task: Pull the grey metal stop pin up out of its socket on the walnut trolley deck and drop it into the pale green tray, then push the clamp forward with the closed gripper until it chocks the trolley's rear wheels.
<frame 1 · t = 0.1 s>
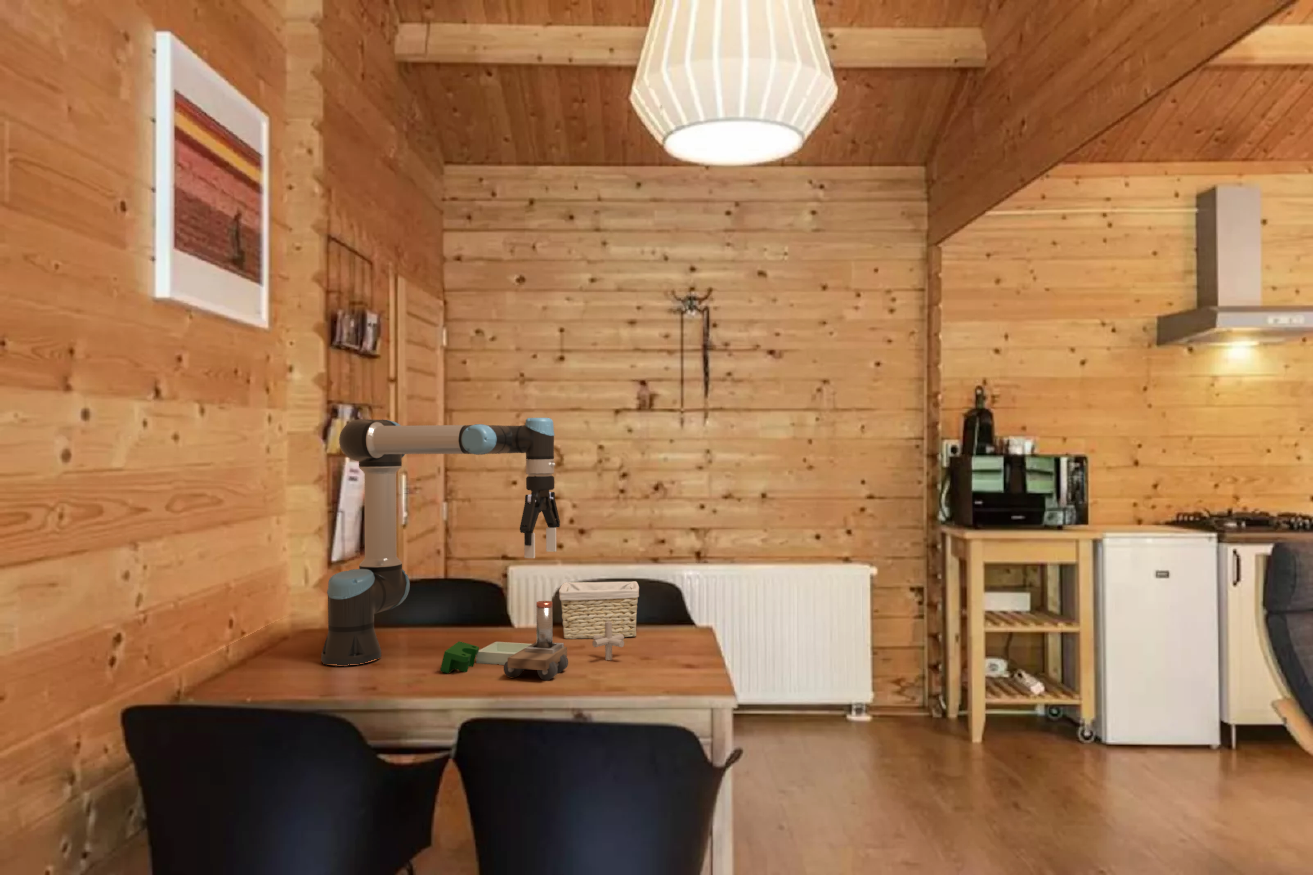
hand: (540, 554, 230), 28 cm above the table, tool pointing down, fingers open, 13 cm apart
pipe connector: (608, 660, 229), on the table
storage basket: (599, 634, 261), on the table
tray: (506, 659, 231), on the table
clamp: (460, 670, 221), on the table
trolley: (538, 674, 215), on the table
pin: (544, 649, 218), point 5 cm above the table, touching trolley
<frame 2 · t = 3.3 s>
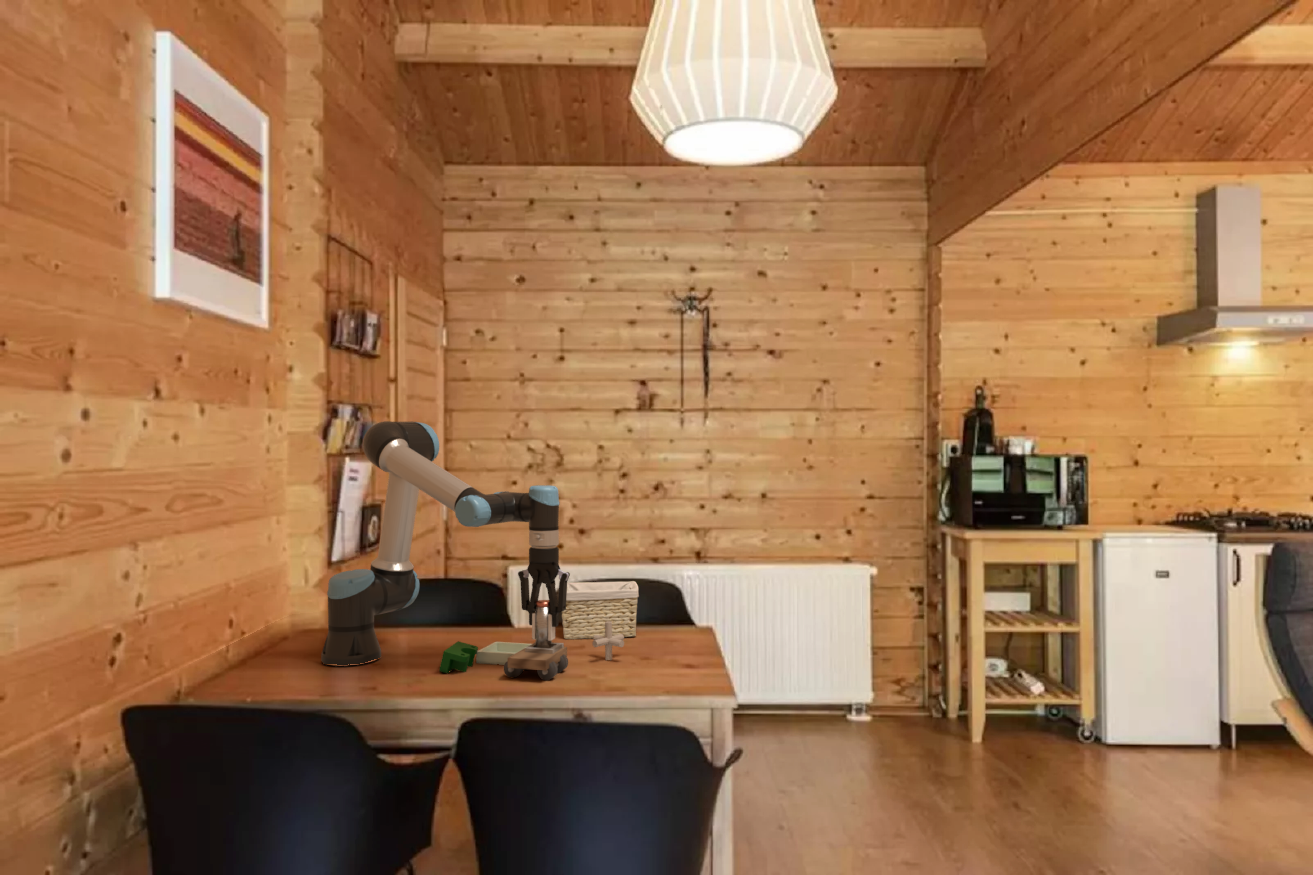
hand: (543, 638, 218), 8 cm above the table, tool pointing down, fingers closed on pin, 4 cm apart
pin: (543, 648, 218), point 6 cm above the table, touching gripper
everything else where it was.
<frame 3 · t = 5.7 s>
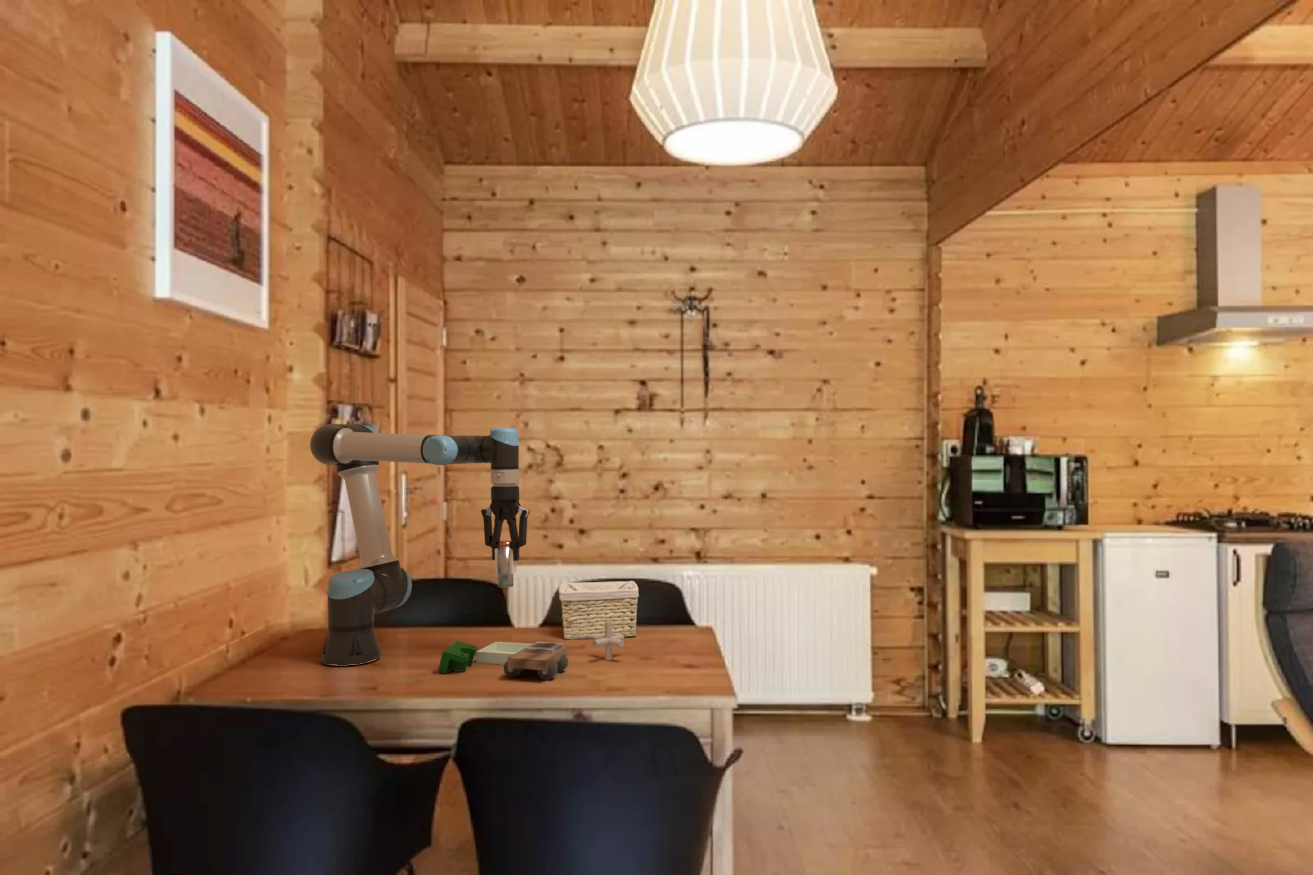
hand: (505, 572, 231), 23 cm above the table, tool pointing down, fingers closed on pin, 3 cm apart
pin: (505, 586, 231), point 19 cm above the table, touching gripper
everything else where it was.
when the fingers open (4 cm above the table, at t = 8.8 s): pin stays where it is, resting on tray.
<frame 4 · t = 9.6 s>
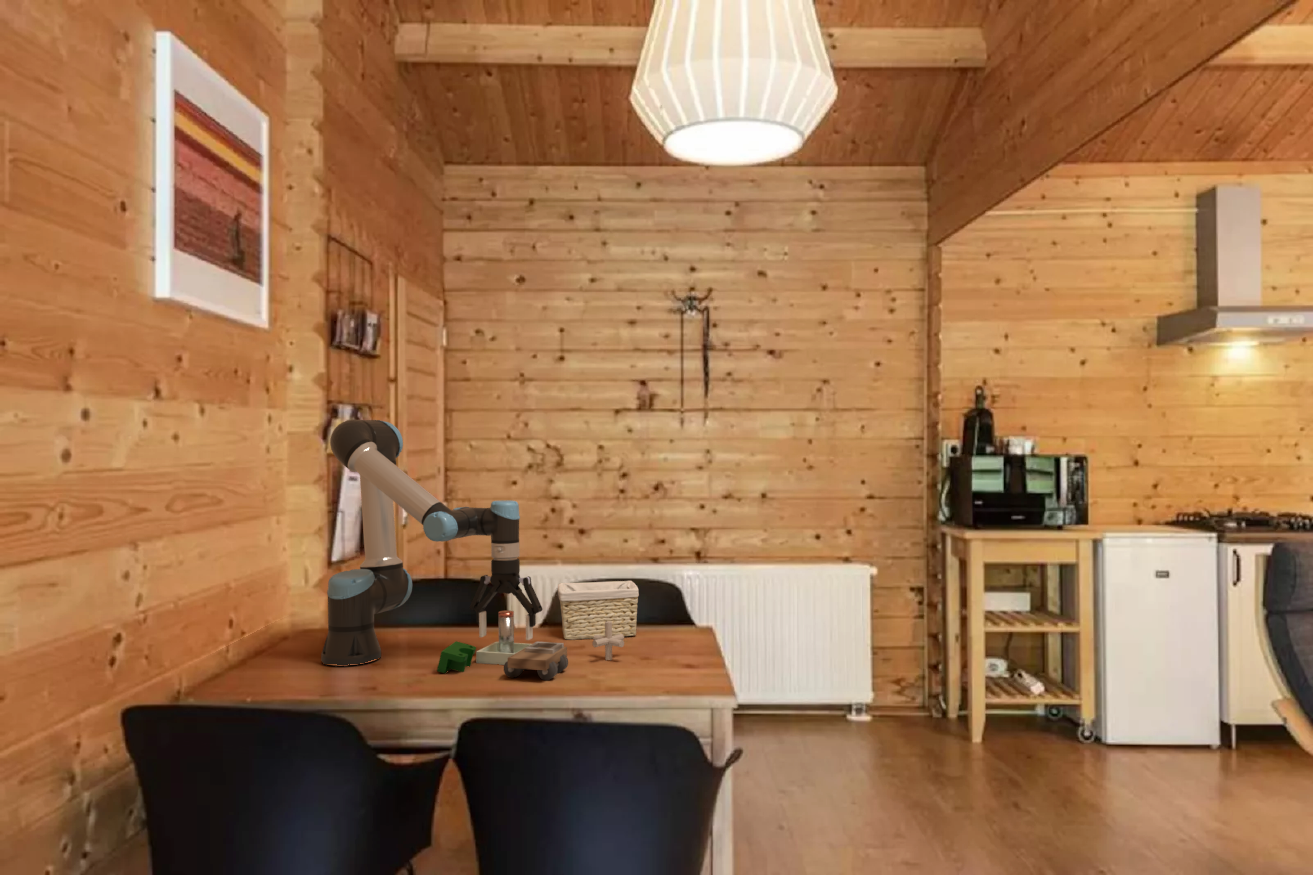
hand: (505, 637, 231), 6 cm above the table, tool pointing down, fingers open, 13 cm apart
pin: (506, 656, 231), point 1 cm above the table, touching tray
everything else where it was.
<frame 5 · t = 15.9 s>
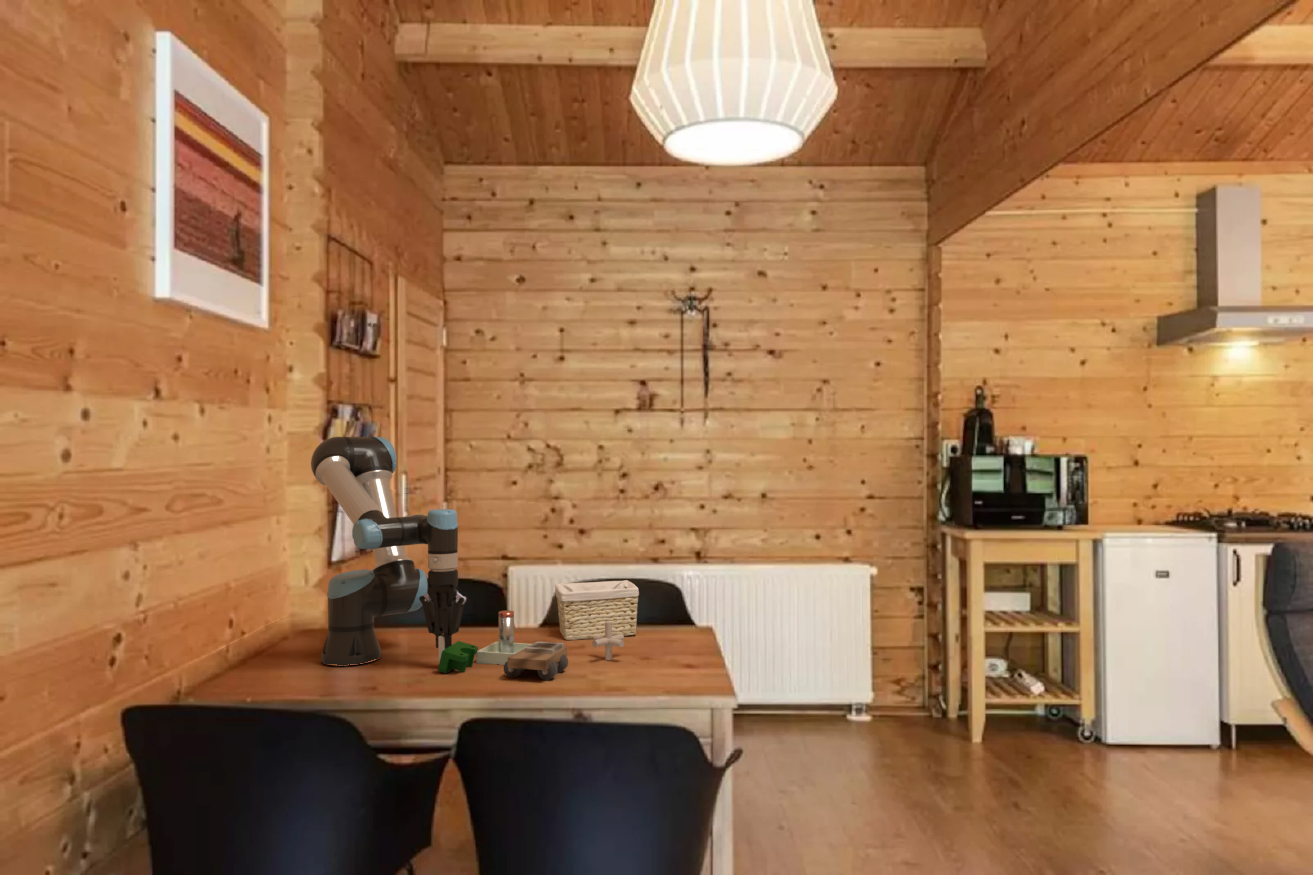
hand: (443, 660, 222), 2 cm above the table, tool pointing down, fingers closed
clamp: (458, 669, 221), on the table, touching gripper
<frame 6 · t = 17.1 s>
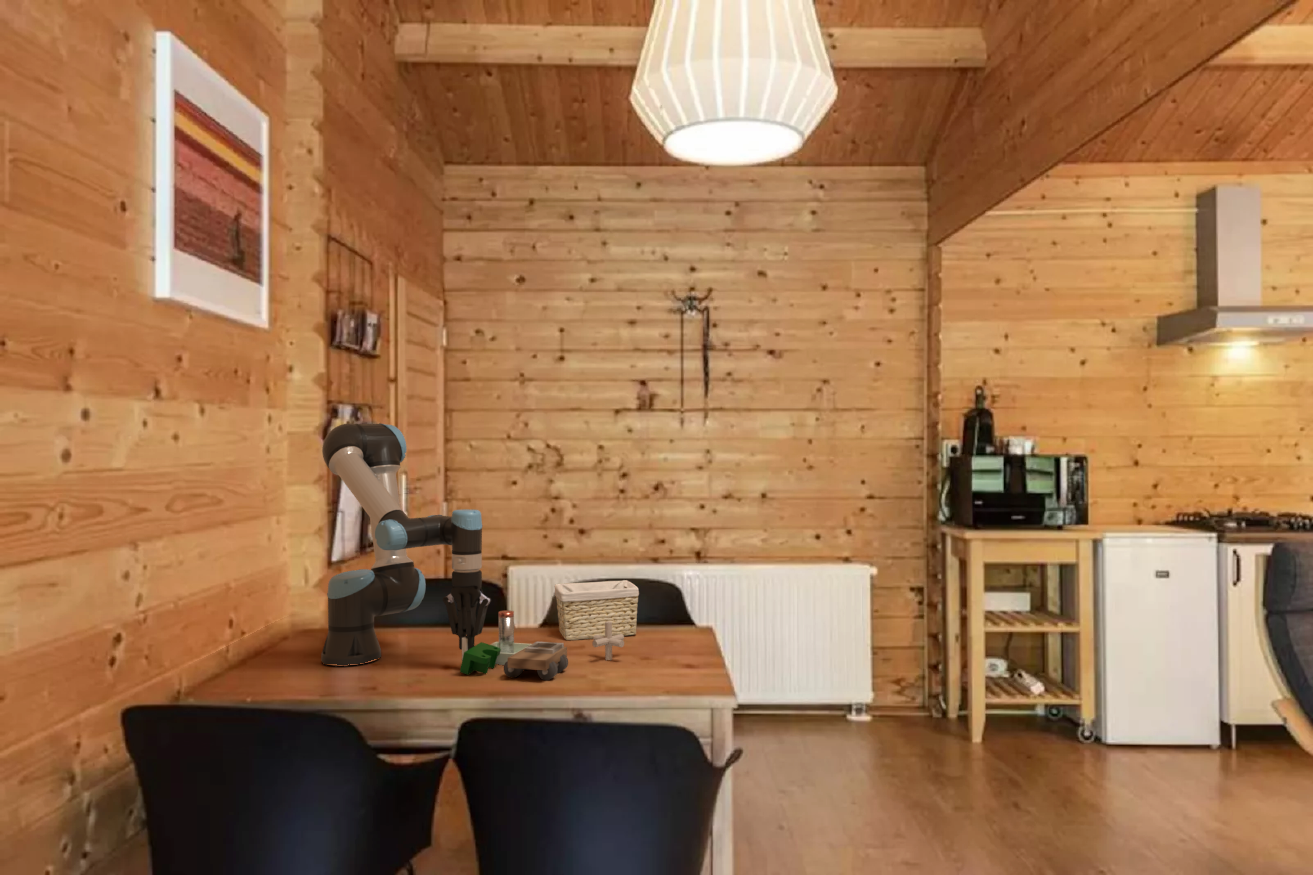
hand: (466, 662, 220), 2 cm above the table, tool pointing down, fingers closed
clamp: (481, 671, 219), on the table, touching gripper
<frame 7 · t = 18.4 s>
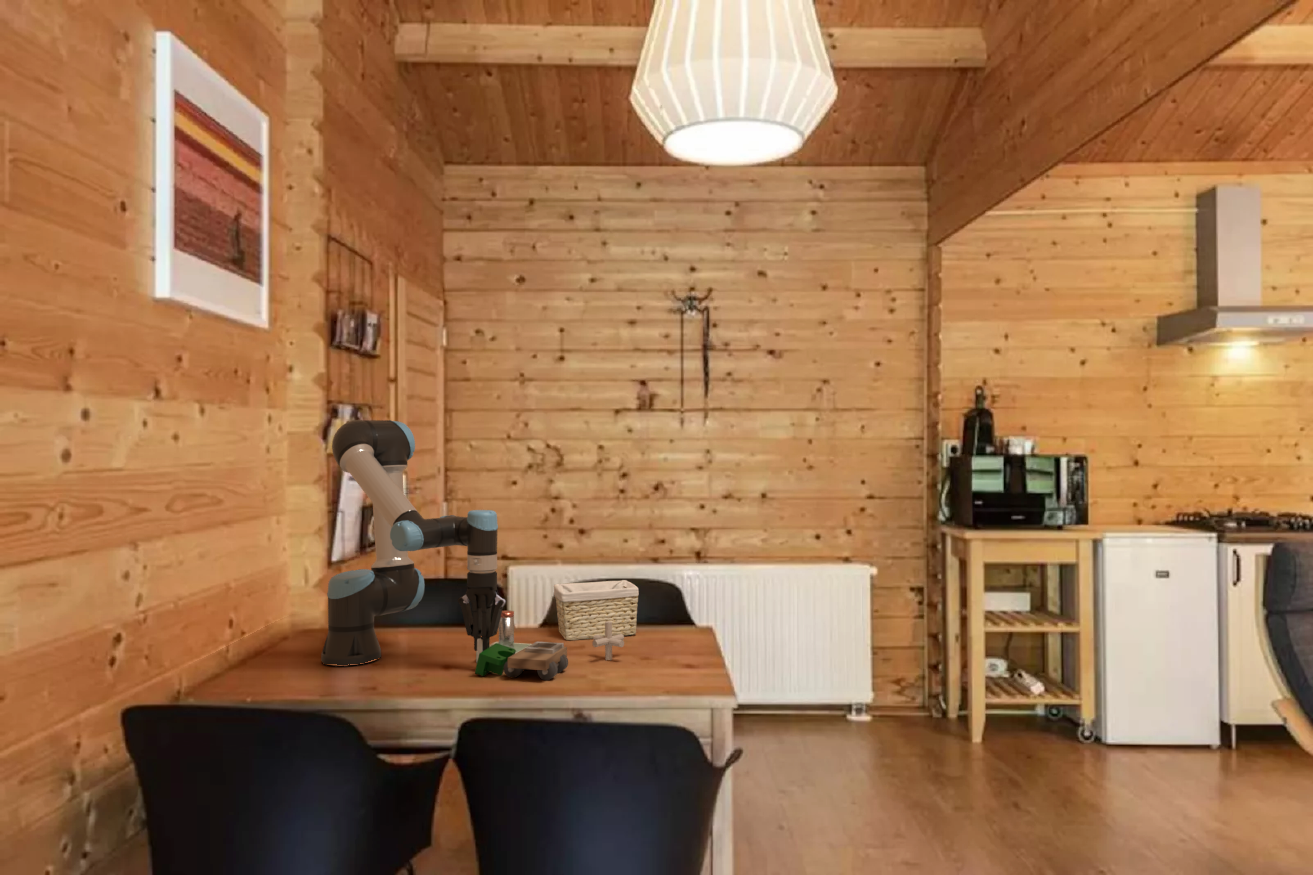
hand: (481, 663, 219), 2 cm above the table, tool pointing down, fingers closed
clamp: (496, 672, 218), on the table, touching gripper
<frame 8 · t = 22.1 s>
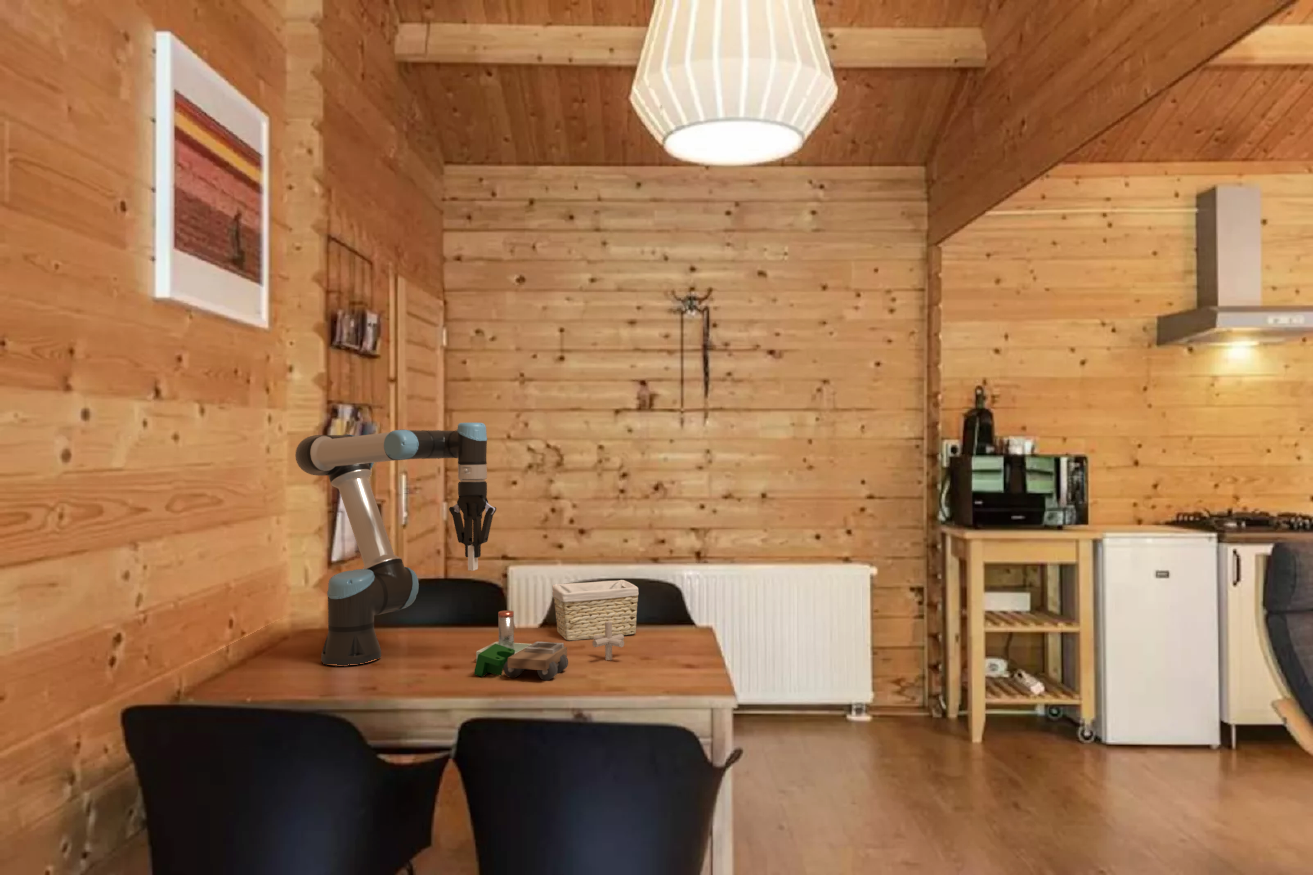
hand: (473, 569, 228), 24 cm above the table, tool pointing down, fingers closed
clamp: (495, 673, 218), on the table
at the end: pin inside the target area on the tray (0.1 cm from its centre), point 0.6 cm above the tray's base; clamp inside the target area (1.3 cm from its centre), on the table; the gripper is holding nothing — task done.
